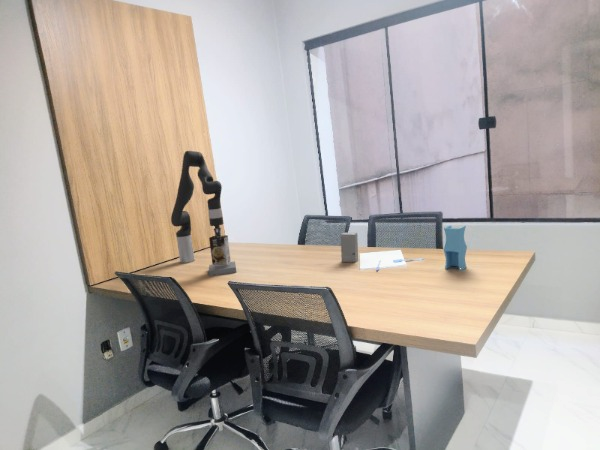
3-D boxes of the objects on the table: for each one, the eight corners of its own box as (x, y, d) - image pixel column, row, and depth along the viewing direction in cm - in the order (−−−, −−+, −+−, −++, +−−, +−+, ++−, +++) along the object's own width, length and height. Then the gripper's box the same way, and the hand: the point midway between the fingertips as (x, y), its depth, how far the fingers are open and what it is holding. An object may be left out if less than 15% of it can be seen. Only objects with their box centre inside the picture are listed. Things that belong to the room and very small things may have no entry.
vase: (467, 266, 200) (465, 225, 197) (460, 270, 194) (459, 228, 191) (451, 265, 205) (449, 225, 202) (444, 269, 200) (442, 228, 196)
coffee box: (212, 265, 236) (208, 237, 233) (216, 262, 242) (213, 235, 239) (227, 265, 234) (223, 237, 231) (231, 262, 240) (227, 234, 237)
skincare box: (341, 262, 231) (339, 234, 229) (345, 259, 238) (342, 232, 235) (356, 262, 228) (354, 234, 225) (359, 259, 234) (357, 231, 232)
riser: (210, 269, 244) (209, 264, 244) (235, 266, 247) (234, 261, 246) (209, 276, 230) (208, 271, 229) (236, 272, 232) (235, 267, 232)
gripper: (222, 217, 227) (226, 246, 230) (222, 214, 241) (225, 241, 244) (208, 219, 226) (212, 248, 228) (209, 216, 240) (212, 243, 242)
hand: (219, 245), depth 236 cm, fingers closed on coffee box, 8 cm apart
